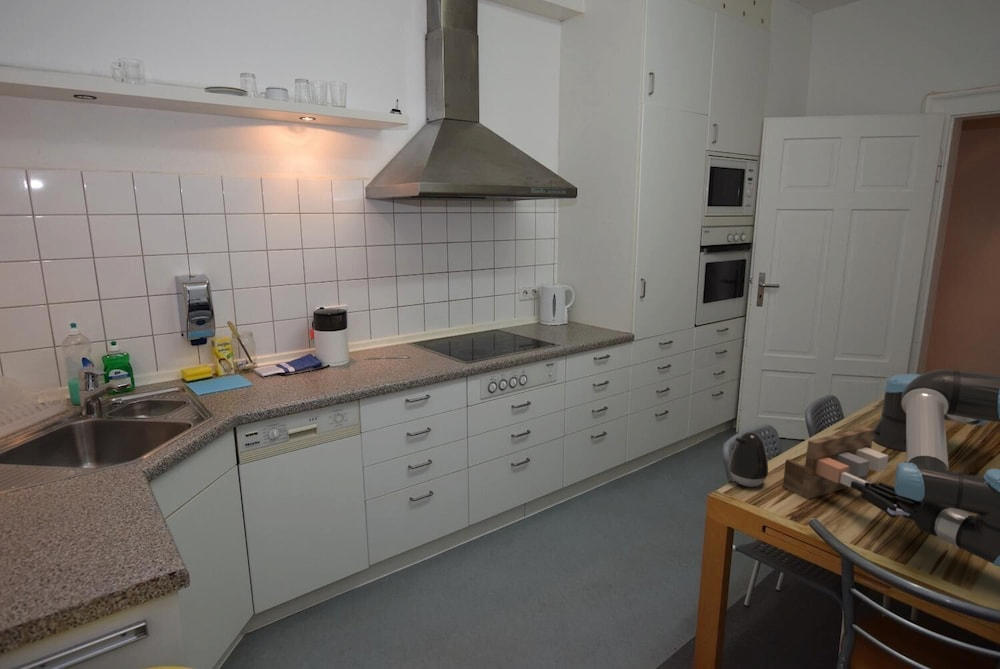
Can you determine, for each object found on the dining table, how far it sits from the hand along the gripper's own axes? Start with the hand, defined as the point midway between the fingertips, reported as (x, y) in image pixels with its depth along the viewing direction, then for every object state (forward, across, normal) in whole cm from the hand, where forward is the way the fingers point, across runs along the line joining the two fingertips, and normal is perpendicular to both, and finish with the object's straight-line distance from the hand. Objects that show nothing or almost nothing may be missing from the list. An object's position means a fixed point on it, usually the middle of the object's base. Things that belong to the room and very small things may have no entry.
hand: (842, 477), depth 146 cm
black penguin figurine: (+20, -11, -9) cm, 24 cm away
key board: (+10, +9, -9) cm, 16 cm away
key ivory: (+4, +17, -2) cm, 17 cm away
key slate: (+4, +9, -2) cm, 10 cm away
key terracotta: (+4, +1, -2) cm, 5 cm away
